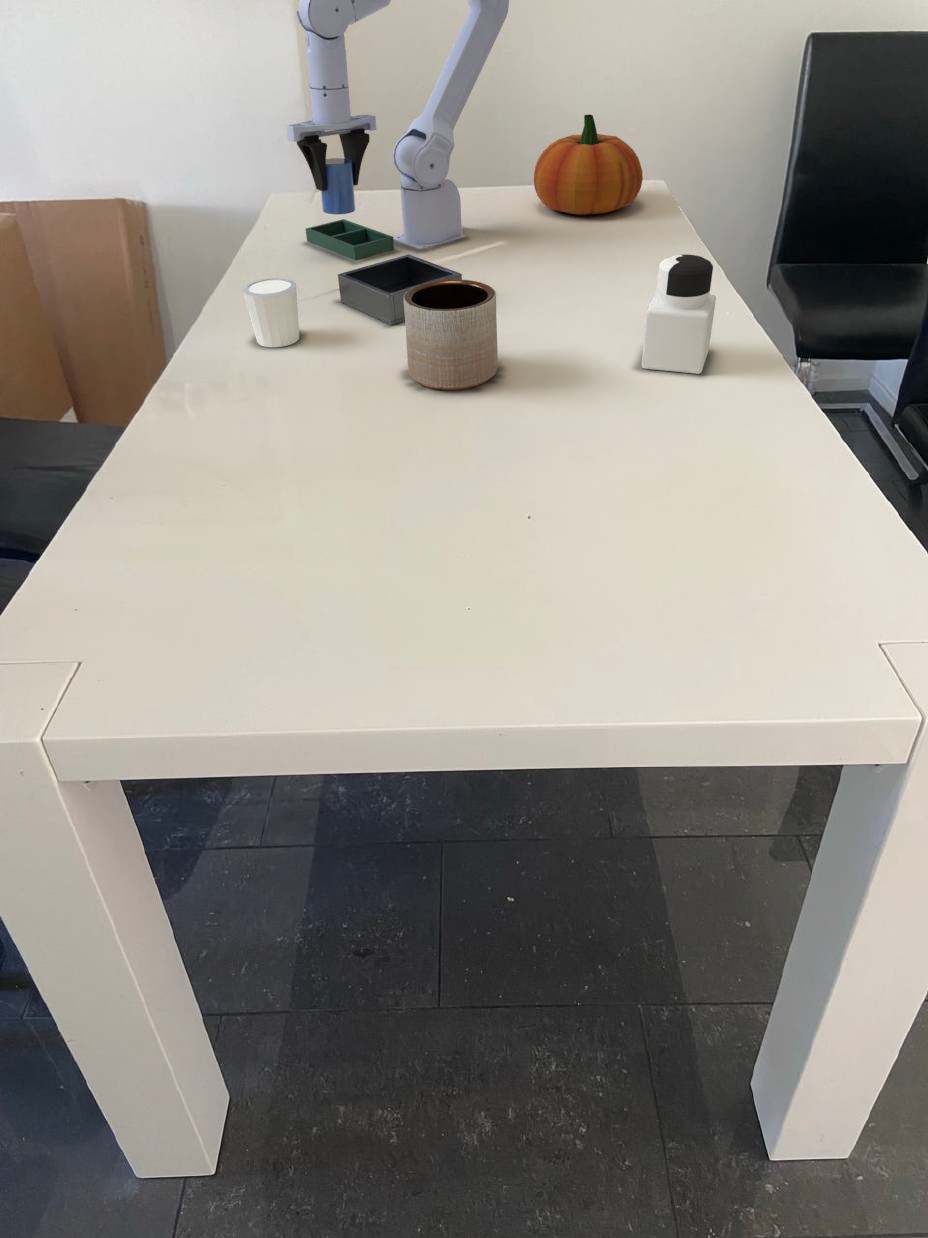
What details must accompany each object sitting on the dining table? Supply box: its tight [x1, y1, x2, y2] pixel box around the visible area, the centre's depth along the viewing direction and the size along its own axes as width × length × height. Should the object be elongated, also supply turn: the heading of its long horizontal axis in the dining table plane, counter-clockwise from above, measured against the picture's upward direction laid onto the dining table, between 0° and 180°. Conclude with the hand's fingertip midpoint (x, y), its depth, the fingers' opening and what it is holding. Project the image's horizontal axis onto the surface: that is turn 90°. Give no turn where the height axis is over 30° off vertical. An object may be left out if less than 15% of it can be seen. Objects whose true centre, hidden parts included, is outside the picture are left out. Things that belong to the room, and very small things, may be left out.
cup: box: [320, 157, 357, 215], centre depth 140 cm, size 5×5×7 cm
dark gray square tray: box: [337, 253, 463, 326], centre depth 128 cm, size 13×13×4 cm
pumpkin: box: [533, 114, 644, 216], centre depth 159 cm, size 19×19×15 cm
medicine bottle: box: [641, 254, 717, 375], centre depth 106 cm, size 7×7×12 cm
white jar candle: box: [242, 277, 300, 348], centre depth 118 cm, size 7×7×7 cm
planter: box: [404, 279, 499, 391], centre depth 106 cm, size 11×11×10 cm
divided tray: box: [305, 218, 395, 261], centre depth 149 cm, size 8×15×2 cm, turn 39°
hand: (337, 186), depth 140 cm, fingers closed on cup, 5 cm apart
